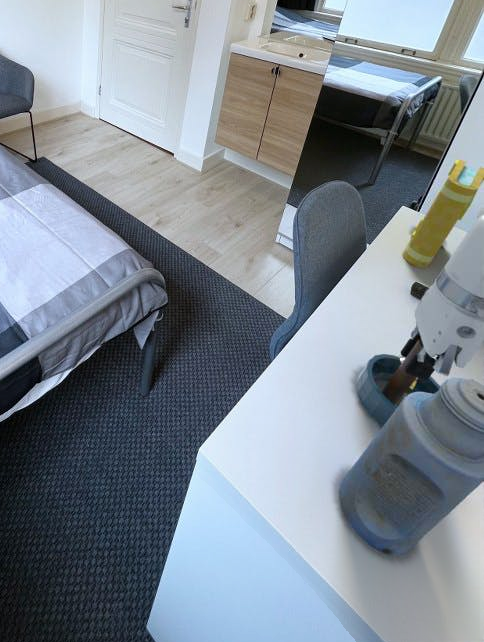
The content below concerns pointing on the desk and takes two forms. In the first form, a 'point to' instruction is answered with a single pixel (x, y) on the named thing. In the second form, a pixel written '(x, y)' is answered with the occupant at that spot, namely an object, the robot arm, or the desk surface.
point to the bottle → (417, 467)
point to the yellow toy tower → (444, 213)
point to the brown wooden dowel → (401, 377)
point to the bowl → (384, 370)
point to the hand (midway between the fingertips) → (413, 365)
